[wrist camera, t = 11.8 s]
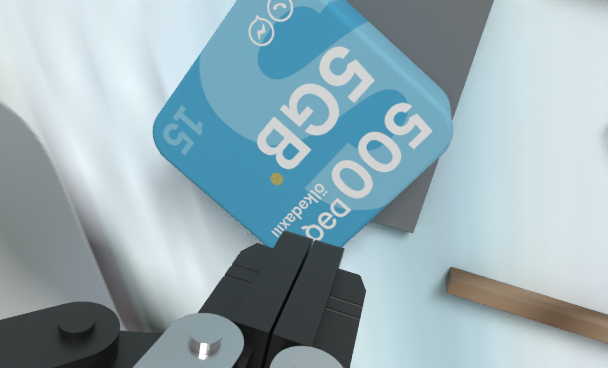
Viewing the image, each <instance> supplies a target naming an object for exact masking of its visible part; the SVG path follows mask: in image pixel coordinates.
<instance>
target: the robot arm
mask: <svg viewBox="0 0 608 368" xmlns="http://www.w3.org/2000/svg"><path fill="white" fill-rule="evenodd" d="M312 244H313V245H312ZM343 252H344V248H342V247H338V246H335V245H332V244H329V243H325V242H322V241H319V240H315V241H314V243H313V239H312V238H309V237H306V236H302V235H299V234H296V233H293V232H289V231H286V230H284V231H283V232H282V234H281V236H280V237H279V239H278V241H277V242H276V244H275V246H274V247H273V248H271V247H268V246H265V245H262V244H258V243H256V244H254V245H252V246H250V247H248V248H246V249H244V250H243V251H241V252H240V254H239V255H238V256H237V258H236V259H235V261H234V262H233V264H232V266H230V268H229V269H228V271H227V272H226V273H225V276H224V277H223V278H222V279H221V281H220V282H219V283H218V285H217V286H216V288H215V289H214V291H213V292H212V293H211V295H210V296H209V298H208V299H207V300H206V302H205V303H204V305H203V306H202V308H201V309H200V310H199V312H198V313H196V314H190V315H187V316H184V317H182V318H180V319H178V320H177V321H175V322H174V323H173V324H172V325H171V326H170V327H169V328H168V329H167V330H166V331H165V332H162V333H143V332H130V331H120V322H119V319H118V317H117V315H116V314H115V313H114V312H113V311H112V310H110V309H109V308H107V307H105V306H103V305H100V304H97V303H92V302H71V303H67V304H62V305H58V306H54V307H50V308H46V309H42V310H38V311H34V312H30V313H26V314H22V315H18V316H14V317H10V318H6V319H2V320H0V368H350V364H351V359H352V354H353V350H354V345H355V340H356V336H357V331H358V326H359V322H360V317H361V312H362V307H363V303H364V298H365V294H366V289H365V287H364V284H363V282H362V279H361V276H360V275H358V274H354V273H351V272H348V271H345V270H342V269H339V266H340V263H341V259H342V256H343Z"/></svg>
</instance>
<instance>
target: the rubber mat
mask: <svg viewBox="0 0 608 368" xmlns="http://www.w3.org/2000/svg"><path fill="white" fill-rule="evenodd" d="M346 1H347V2H348V3H349V4H350V5H352V6H353V7H354V8H355V9H356V10H357V11H358V12H359V13H360V14H361V15H362V16H363V17H364V18H366V19H367V20H368V21H369V22H370V23H371V24H372V25H373V26H374V27H375V28H376V29H377V30H379V31H380V32H381V33H382V34H383V35H384V36H385V37H386V38H387V39H388V40H389V41H390V42H392V43H393V44H394V45H395V46H396V47H397V48H398V49H399V50H400V51H401V52H402V53H403V54H405V55H406V56H407V57H408V58H409V59H410V60H411V61H412V62H413V63H414V64H415V65H416V66H418V67H419V68H420V69H421V70H422V71H423V72H424V73H425V74H426V75H427V76H428V77H429V78H431V79H432V80H433V81H434V82H435V83H436V84H437V85H438V86H439V87H440V88H441V89H442V90H443V91H444V92H445V94H446V95H447V97H448V99H449V102H450V108H451V117H452V119H453V116H454V114H455V111H456V108H457V105H458V102H459V99H460V96H461V93H462V90H463V88H464V85H465V82H466V79H467V76H468V73H469V70H470V67H471V64H472V62H473V59H474V56H475V53H476V50H477V47H478V44H479V41H480V39H481V36H482V33H483V30H484V27H485V24H486V21H487V18H488V15H489V13H490V10H491V7H492V4H493V1H494V0H346ZM438 160H439V158H438V159H437V160H436V161H435V162H434V163H432V164H431V165H430V166H429V167H428V168H427V169H426V170H425V171H424V172H423V173H422V174H421V175H419V176H418V177H417V178H416V179H415V180H414V181H413V182H412V183H411V184H410V185H409V186H408V187H406V188H405V189H404V190H403V191H402V192H401V193H400V194H399V195H398V196H397V197H396V198H395V199H393V200H392V201H391V202H390V203H389V204H388V205H387V206H386V207H385V208H384V209H383V210H382V211H380V212H379V213H378V214H377V215H376V216H375V217H374V218H373V219H372V220H371V221H374V222H377V223H380V224H384V225H387V226H390V227H394V228H397V229H400V230H404V231H407V232H410V233H413V232H414V229H415V226H416V223H417V220H418V217H419V215H420V212H421V209H422V206H423V203H424V200H425V197H426V194H427V191H428V189H429V186H430V183H431V180H432V177H433V174H434V171H435V168H436V166H437V163H438Z"/></svg>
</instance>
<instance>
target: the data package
mask: <svg viewBox="0 0 608 368" xmlns="http://www.w3.org/2000/svg"><path fill="white" fill-rule="evenodd" d="M452 133H453V125H452V117H451V108H450V102H449V99H448V97H447V95H446V94H445V92H444V91H443V90H442V89H441V88H440V87H439V86H438V85H437V84H436V83H435V82H434V81H433V80H432V79H431V78H429V77H428V76H427V75H426V74H425V73H424V72H423V71H422V70H421V69H420V68H419V67H418V66H416V65H415V64H414V63H413V62H412V61H411V60H410V59H409V58H408V57H407V56H406V55H405V54H403V53H402V52H401V51H400V50H399V49H398V48H397V47H396V46H395V45H394V44H393V43H392V42H390V41H389V40H388V39H387V38H386V37H385V36H384V35H383V34H382V33H381V32H380V31H379V30H377V29H376V28H375V27H374V26H373V25H372V24H371V23H370V22H369V21H368V20H367V19H366V18H364V17H363V16H362V15H361V14H360V13H359V12H358V11H357V10H356V9H355V8H354V7H353V6H352V5H350V4H349V3H348V2H347V1H346V0H237V1H236V3H235V4H234V6H233V7H232V9H231V10H230V12H229V13H228V14H227V16H226V17H225V19H224V20H223V22H222V23H221V25H220V26H219V27H218V29H217V30H216V32H215V33H214V35H213V36H212V38H211V39H210V40H209V42H208V43H207V45H206V46H205V48H204V49H203V51H202V52H201V53H200V55H199V56H198V58H197V59H196V61H195V62H194V64H193V65H192V67H191V68H190V69H189V71H188V72H187V74H186V75H185V77H184V78H183V80H182V81H181V82H180V84H179V85H178V87H177V88H176V90H175V91H174V93H173V94H172V95H171V97H170V98H169V100H168V101H167V103H166V104H165V106H164V107H163V108H162V110H161V111H160V113H159V114H158V116H157V117H156V119H155V122H154V125H153V139H154V142H155V145H156V147H157V149H158V150H159V152H160V153H161V154H162V156H163V157H164V158H165V159H167V160H168V161H169V162H170V163H171V164H172V165H174V166H175V167H176V168H177V169H178V170H179V171H181V172H182V173H183V174H184V175H185V176H186V177H187V178H189V179H190V180H191V181H192V182H193V183H194V184H196V185H197V186H198V187H199V188H200V189H201V190H203V191H204V192H205V193H206V194H207V195H208V196H209V197H211V198H212V199H213V200H214V201H215V202H216V203H218V204H219V205H220V206H221V207H222V208H223V209H225V210H226V211H227V212H228V213H229V214H230V215H231V216H233V217H234V218H235V219H236V220H237V221H238V222H240V223H241V224H242V225H243V226H244V227H245V228H247V229H248V230H249V231H250V232H251V233H252V234H254V235H255V236H256V237H257V238H258V239H259V240H260V241H262V242H263V243H264V244H265V245H266V246H268V247H271V248H273V247H274V246H275V244H276V242H277V241H278V239H279V237H280V236H281V234H282V232H283V231H284V230H286V231H289V232H293V233H296V234H299V235H302V236H306V237H309V238H312V239H313V243H314V241H315V240H319V241H322V242H325V243H329V244H332V245H335V246H338V247H343V246H344V245H345V244H346V243H347V242H348V241H349V240H350V239H351V238H352V237H353V236H354V235H356V234H357V233H358V232H359V231H360V230H361V229H362V228H363V227H364V226H365V225H366V224H367V223H369V222H370V221H371V220H372V219H373V218H374V217H375V216H376V215H377V214H378V213H379V212H380V211H382V210H383V209H384V208H385V207H386V206H387V205H388V204H389V203H390V202H391V201H392V200H393V199H395V198H396V197H397V196H398V195H399V194H400V193H401V192H402V191H403V190H404V189H405V188H406V187H408V186H409V185H410V184H411V183H412V182H413V181H414V180H415V179H416V178H417V177H418V176H419V175H421V174H422V173H423V172H424V171H425V170H426V169H427V168H428V167H429V166H430V165H431V164H432V163H434V162H435V161H436V160H437V159H438V158H439V157H440V156H441V155H442V154H443V153H444V152H445V151H446V149H447V148H448V146H449V144H450V142H451V139H452ZM312 245H313V244H312Z"/></svg>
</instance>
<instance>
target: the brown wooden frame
mask: <svg viewBox="0 0 608 368" xmlns="http://www.w3.org/2000/svg"><path fill="white" fill-rule="evenodd" d="M446 293H448V294H452V295H455V296H458V297H461V298H464V299H468V300H471V301H474V302H477V303H480V304H483V305H487V306H490V307H493V308H496V309H499V310H503V311H506V312H509V313H512V314H515V315H519V316H522V317H525V318H528V319H531V320H535V321H538V322H541V323H544V324H547V325H550V326H554V327H557V328H560V329H563V330H566V331H570V332H573V333H576V334H579V335H582V336H586V337H589V338H592V339H595V340H598V341H601V342H605V343H608V315H607V314H603V313H600V312H597V311H594V310H590V309H587V308H584V307H581V306H577V305H574V304H571V303H567V302H564V301H561V300H558V299H554V298H551V297H548V296H545V295H541V294H538V293H535V292H532V291H528V290H525V289H522V288H518V287H515V286H512V285H509V284H505V283H502V282H499V281H496V280H492V279H489V278H486V277H483V276H479V275H476V274H473V273H469V272H466V271H463V270H460V269H456V268H453V267H451V268H450V271H449V273H448V276H447V278H446Z"/></svg>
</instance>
